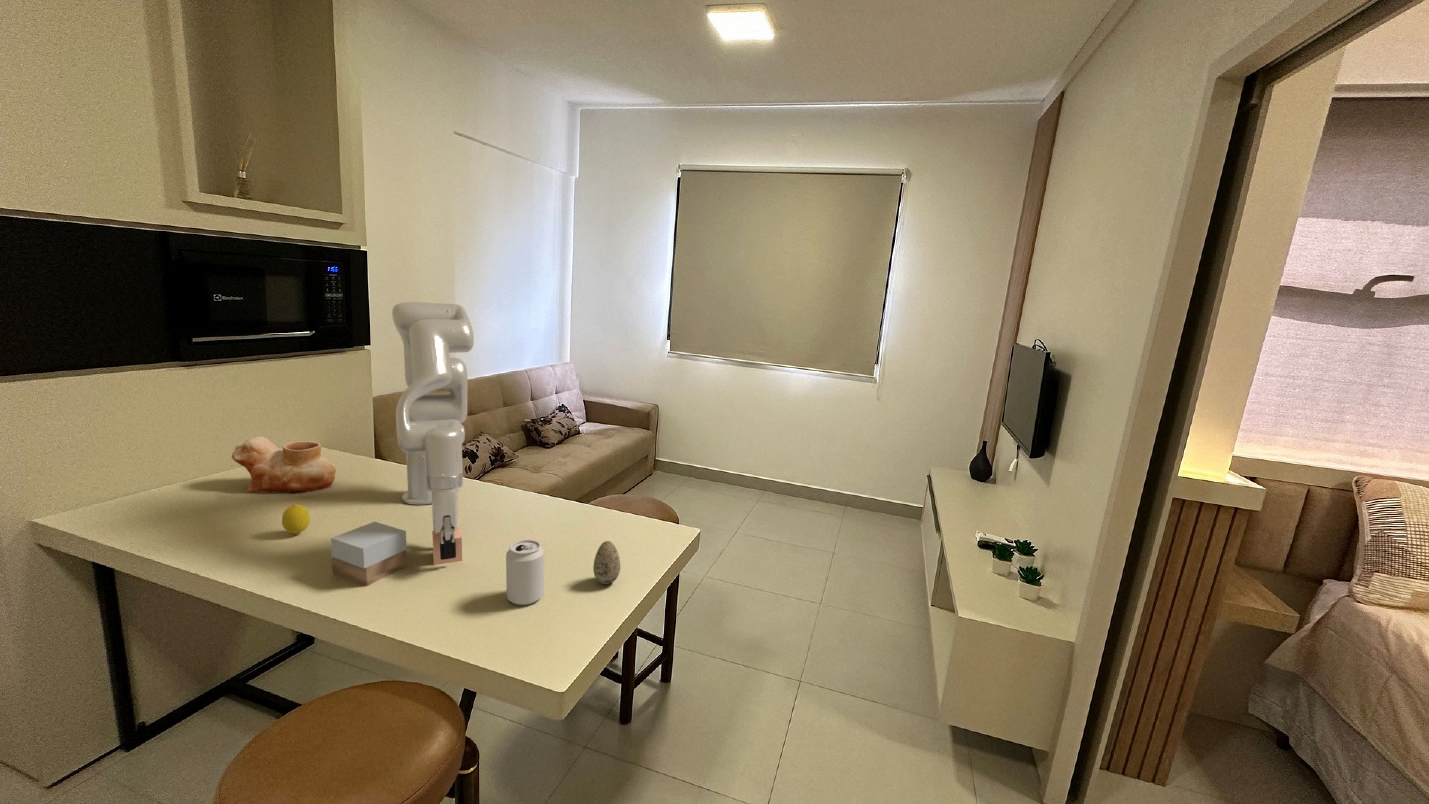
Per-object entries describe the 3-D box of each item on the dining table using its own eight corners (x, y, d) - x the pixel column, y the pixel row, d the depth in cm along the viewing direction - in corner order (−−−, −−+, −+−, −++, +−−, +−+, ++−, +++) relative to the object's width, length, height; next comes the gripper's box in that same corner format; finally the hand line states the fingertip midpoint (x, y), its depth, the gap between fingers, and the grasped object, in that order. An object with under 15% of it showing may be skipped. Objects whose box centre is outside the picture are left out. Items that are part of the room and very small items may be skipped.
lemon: (296, 540, 133) (293, 509, 132) (277, 537, 134) (274, 506, 133) (316, 531, 138) (314, 501, 137) (298, 528, 139) (295, 498, 138)
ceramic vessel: (256, 477, 171) (251, 430, 168) (346, 479, 174) (342, 433, 171) (222, 493, 158) (216, 443, 155) (320, 495, 161) (316, 446, 158)
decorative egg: (621, 588, 122) (622, 546, 120) (594, 590, 120) (594, 548, 118) (618, 574, 127) (619, 534, 125) (592, 577, 125) (592, 536, 123)
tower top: (375, 539, 128) (374, 521, 127) (406, 549, 124) (405, 531, 123) (332, 557, 119) (331, 538, 118) (364, 568, 115) (363, 548, 114)
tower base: (374, 557, 128) (372, 539, 128) (407, 566, 125) (406, 548, 125) (332, 577, 119) (331, 558, 118) (367, 587, 116) (366, 568, 115)
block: (433, 554, 131) (432, 530, 130) (460, 549, 134) (460, 527, 133) (433, 565, 126) (432, 541, 125) (462, 561, 129) (461, 537, 128)
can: (512, 587, 119) (511, 536, 117) (547, 588, 120) (547, 537, 117) (502, 607, 112) (501, 553, 109) (539, 607, 112) (539, 554, 110)
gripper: (426, 470, 132) (429, 536, 135) (426, 495, 117) (430, 568, 120) (460, 467, 135) (462, 532, 139) (465, 491, 120) (467, 562, 124)
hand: (447, 549), depth 129 cm, fingers open, 9 cm apart
